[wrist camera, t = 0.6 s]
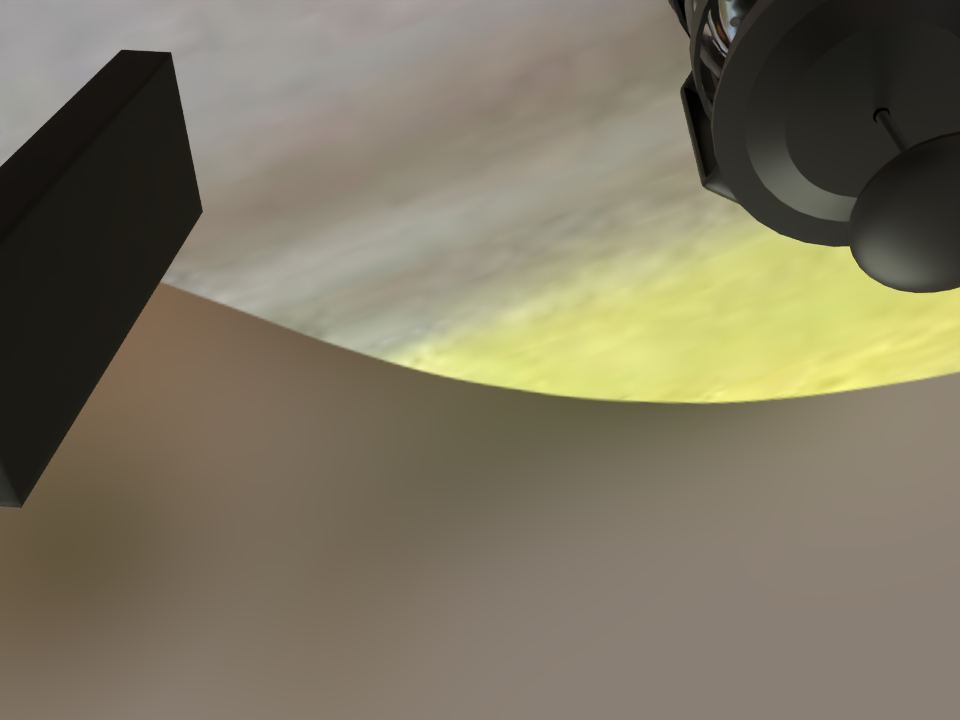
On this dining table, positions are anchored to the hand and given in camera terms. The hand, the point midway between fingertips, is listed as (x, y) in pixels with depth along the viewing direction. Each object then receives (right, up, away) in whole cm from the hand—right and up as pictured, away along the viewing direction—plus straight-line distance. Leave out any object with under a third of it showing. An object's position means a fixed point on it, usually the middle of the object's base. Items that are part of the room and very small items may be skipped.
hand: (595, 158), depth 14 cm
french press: (+10, +14, +24) cm, 30 cm away
